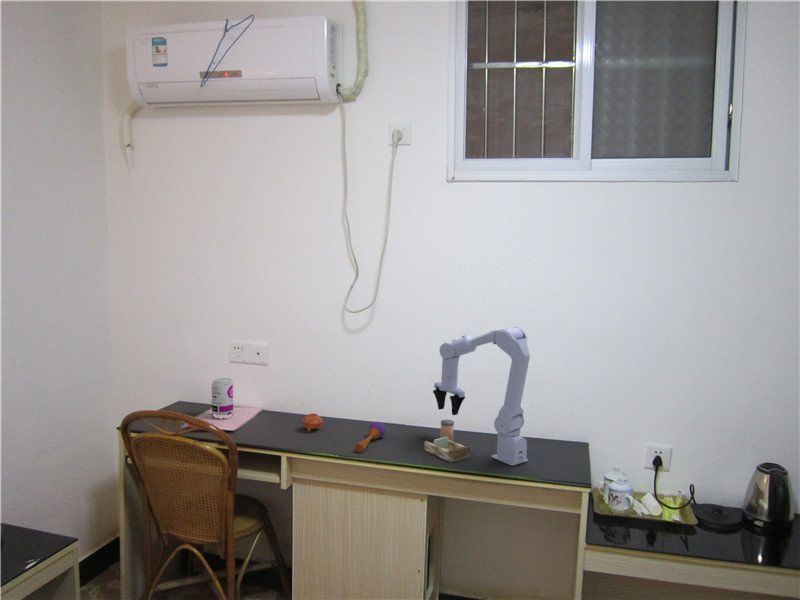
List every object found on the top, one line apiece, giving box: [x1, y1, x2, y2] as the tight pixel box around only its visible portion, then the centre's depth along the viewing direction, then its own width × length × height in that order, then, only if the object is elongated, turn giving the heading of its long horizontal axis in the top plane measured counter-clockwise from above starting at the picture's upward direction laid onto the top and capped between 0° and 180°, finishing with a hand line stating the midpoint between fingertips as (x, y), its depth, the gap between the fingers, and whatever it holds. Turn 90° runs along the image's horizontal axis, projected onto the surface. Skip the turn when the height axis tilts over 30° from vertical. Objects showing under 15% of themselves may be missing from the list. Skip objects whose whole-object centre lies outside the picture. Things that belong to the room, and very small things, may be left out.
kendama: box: [354, 421, 386, 454], centre depth 207 cm, size 6×6×20 cm
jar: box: [440, 419, 455, 442], centre depth 212 cm, size 5×5×7 cm
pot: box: [301, 412, 324, 433], centre depth 220 cm, size 8×8×7 cm
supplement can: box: [211, 377, 234, 415], centre depth 233 cm, size 8×8×15 cm
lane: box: [423, 436, 471, 463], centre depth 199 cm, size 14×8×4 cm, turn 37°
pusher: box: [433, 437, 448, 448], centre depth 201 cm, size 1×6×3 cm, turn 127°
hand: (447, 411), depth 211 cm, fingers open, 7 cm apart
